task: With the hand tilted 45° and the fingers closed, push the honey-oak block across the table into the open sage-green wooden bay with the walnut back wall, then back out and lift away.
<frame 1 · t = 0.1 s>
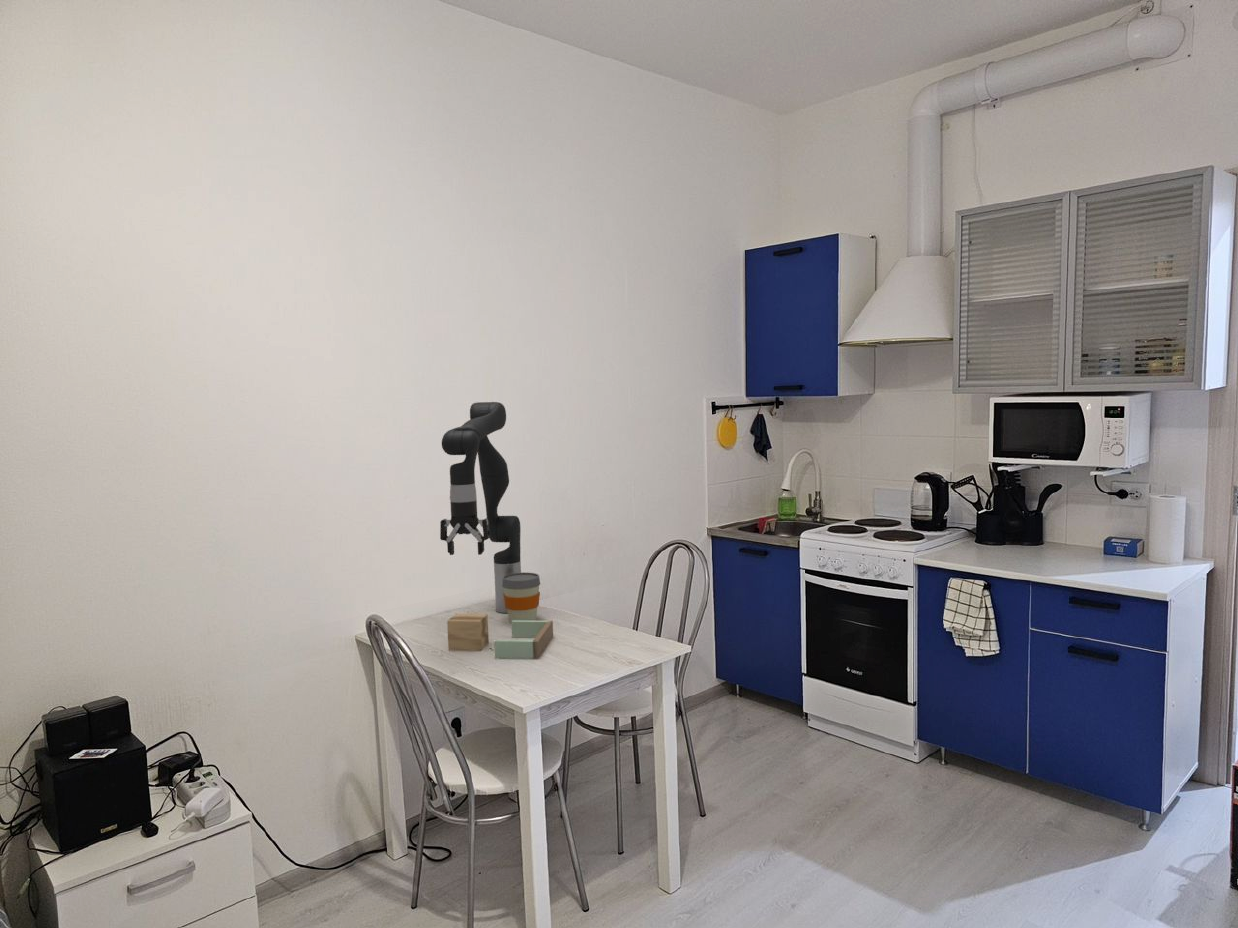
hand: (466, 554, 238), 29 cm above the table, tool pointing down, fingers open, 8 cm apart
reusable coffee cup: (522, 621, 271), on the table
oak block: (469, 646, 246), on the table
bay: (524, 646, 244), on the table
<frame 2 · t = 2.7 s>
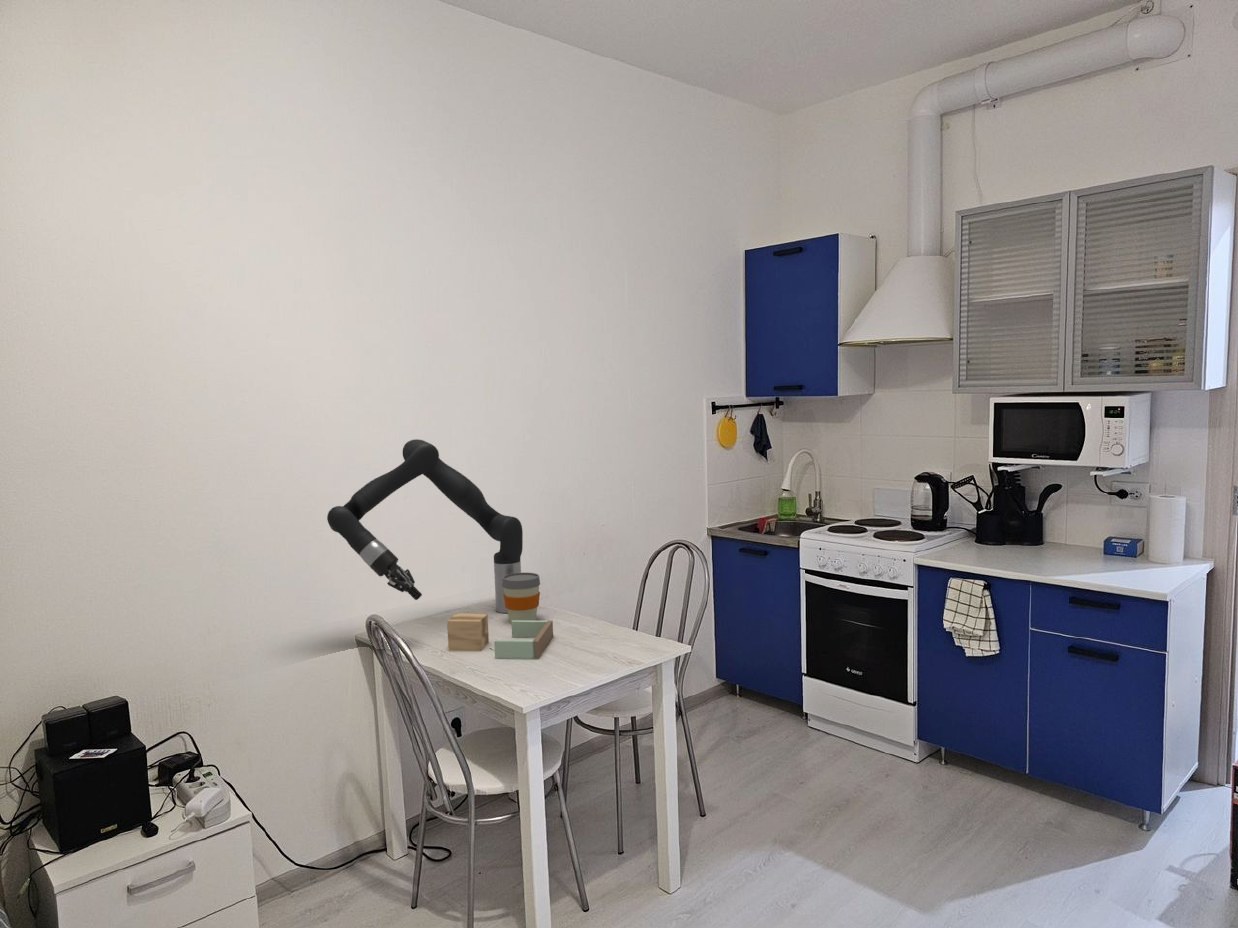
hand: (419, 597, 246), 15 cm above the table, tool tilted 45°, fingers closed
nothing on the table moved.
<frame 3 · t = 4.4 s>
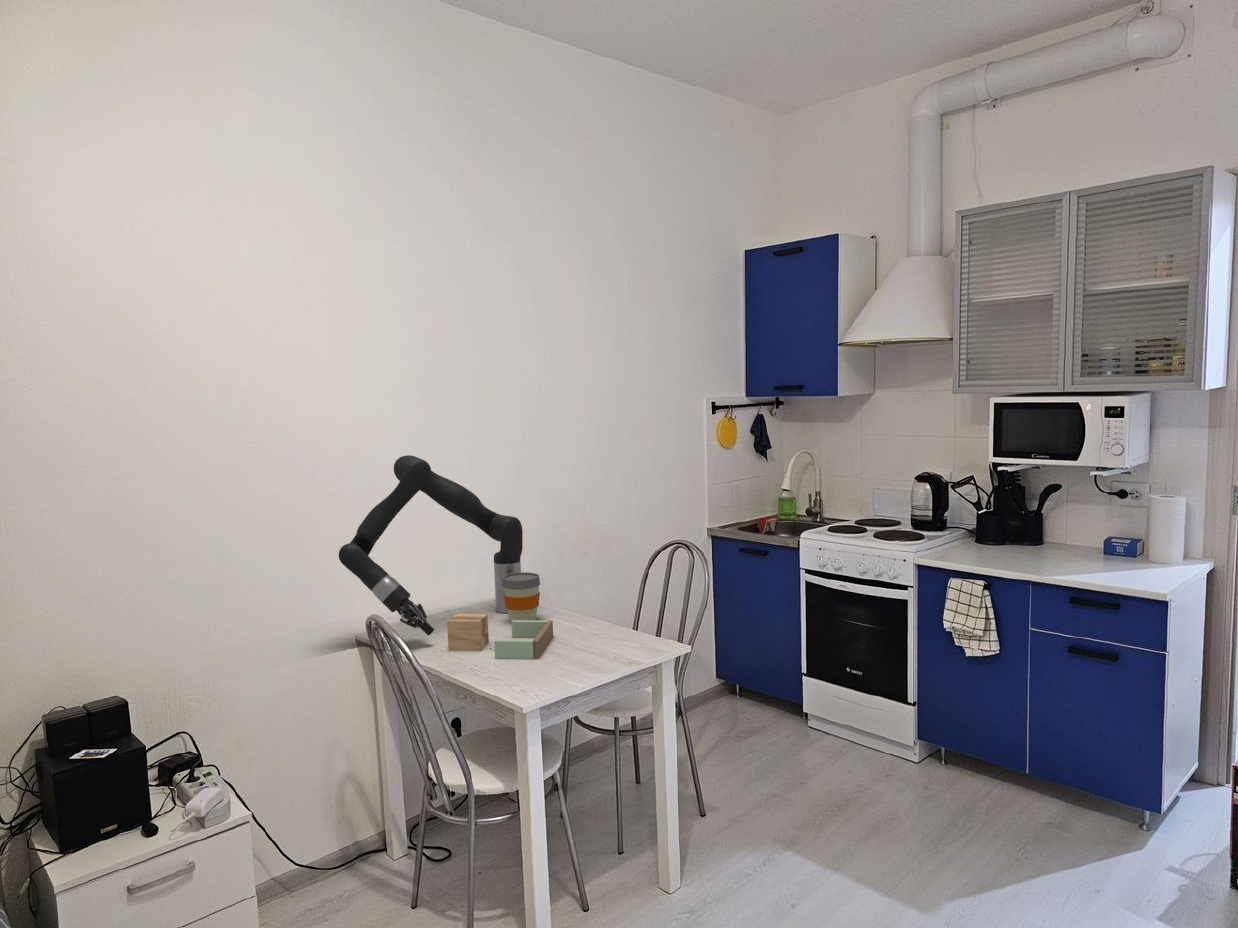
hand: (431, 632, 247), 4 cm above the table, tool tilted 45°, fingers closed
nothing on the table moved.
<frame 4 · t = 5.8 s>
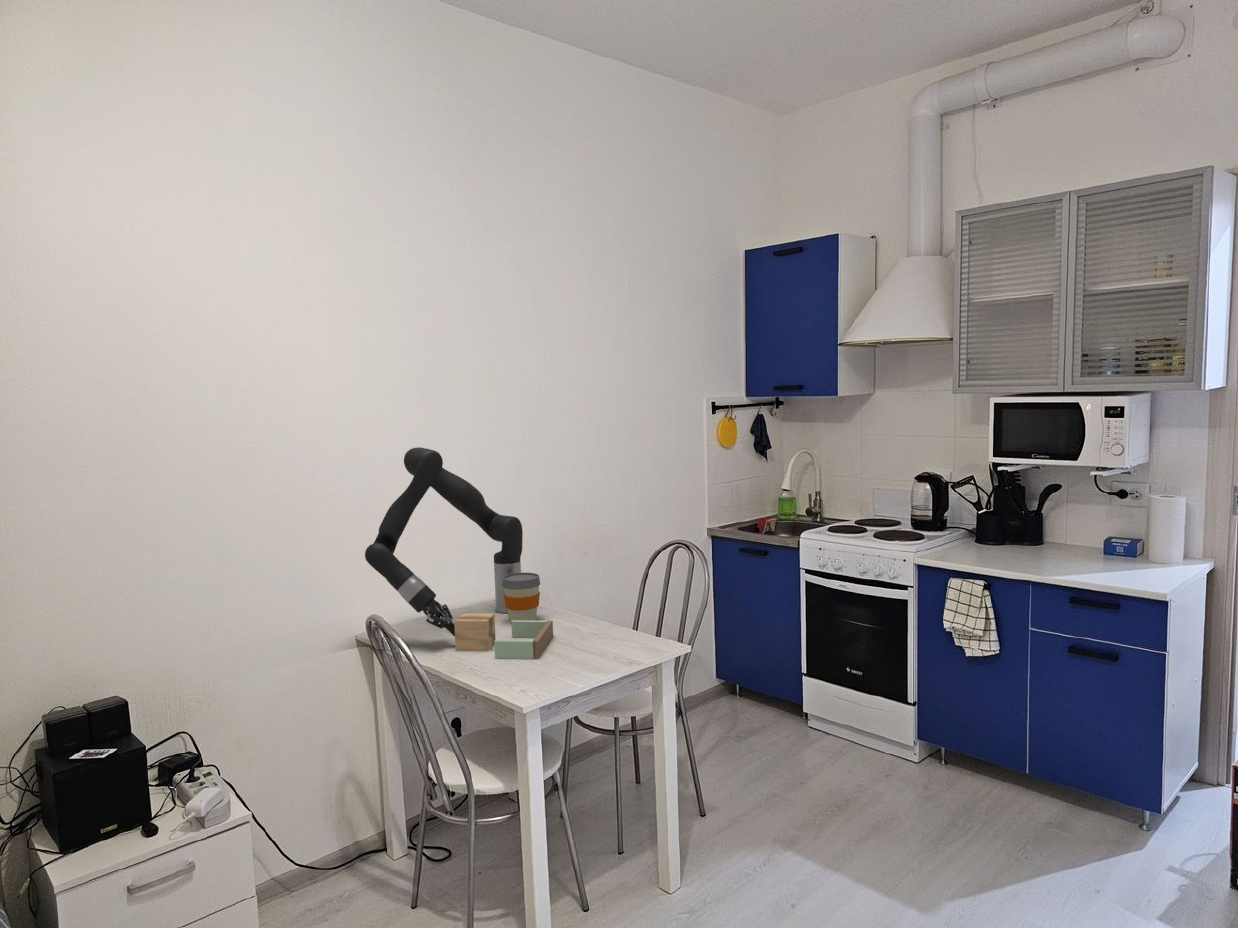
hand: (457, 633, 246), 4 cm above the table, tool tilted 45°, fingers closed
oak block: (475, 646, 246), on the table, touching gripper
everything else where it was.
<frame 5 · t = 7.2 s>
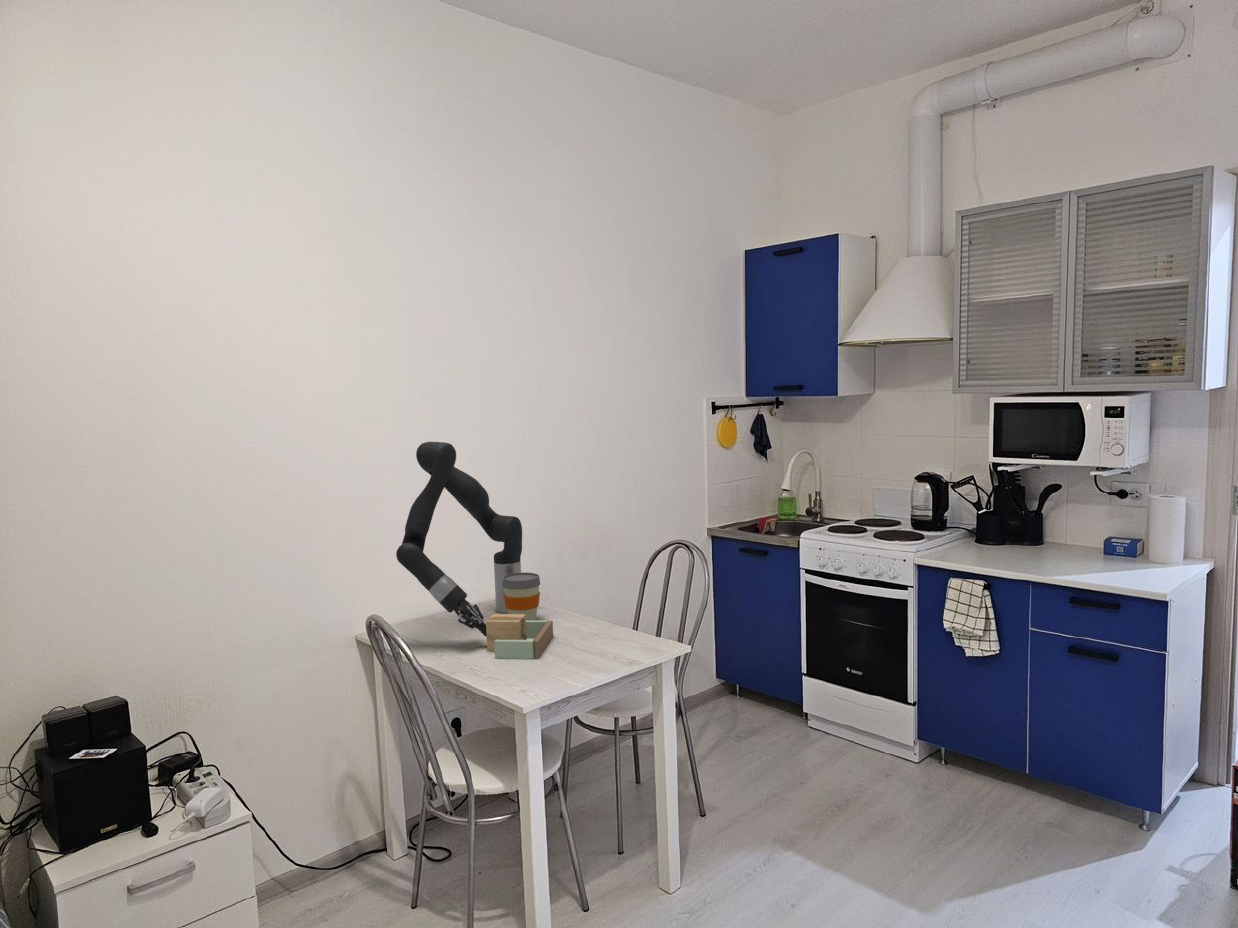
hand: (488, 633, 245), 4 cm above the table, tool tilted 45°, fingers closed
oak block: (507, 647, 244), on the table, touching gripper
everything else where it was.
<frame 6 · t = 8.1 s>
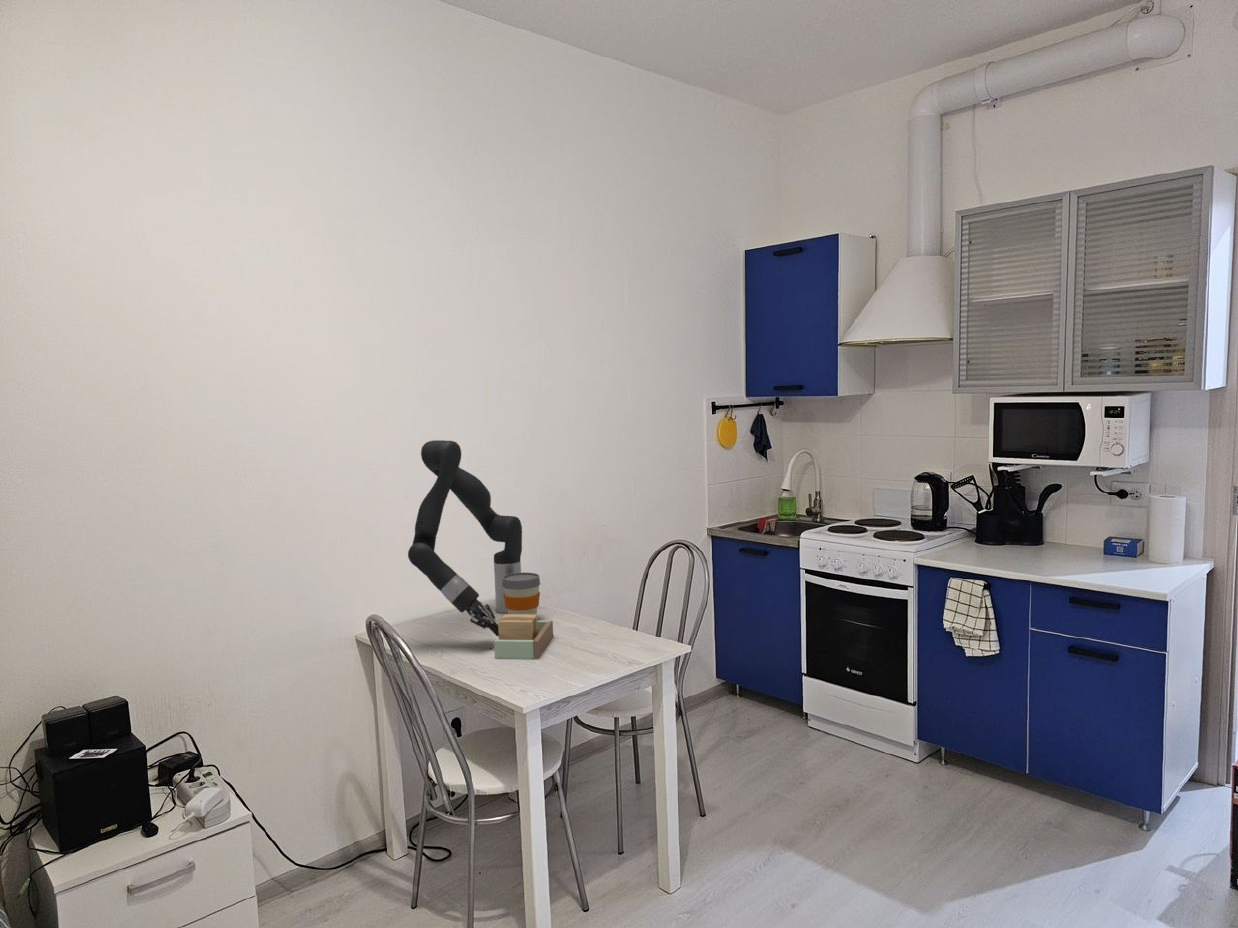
hand: (500, 633, 244), 4 cm above the table, tool tilted 45°, fingers closed
oak block: (519, 647, 244), on the table
everything else where it was.
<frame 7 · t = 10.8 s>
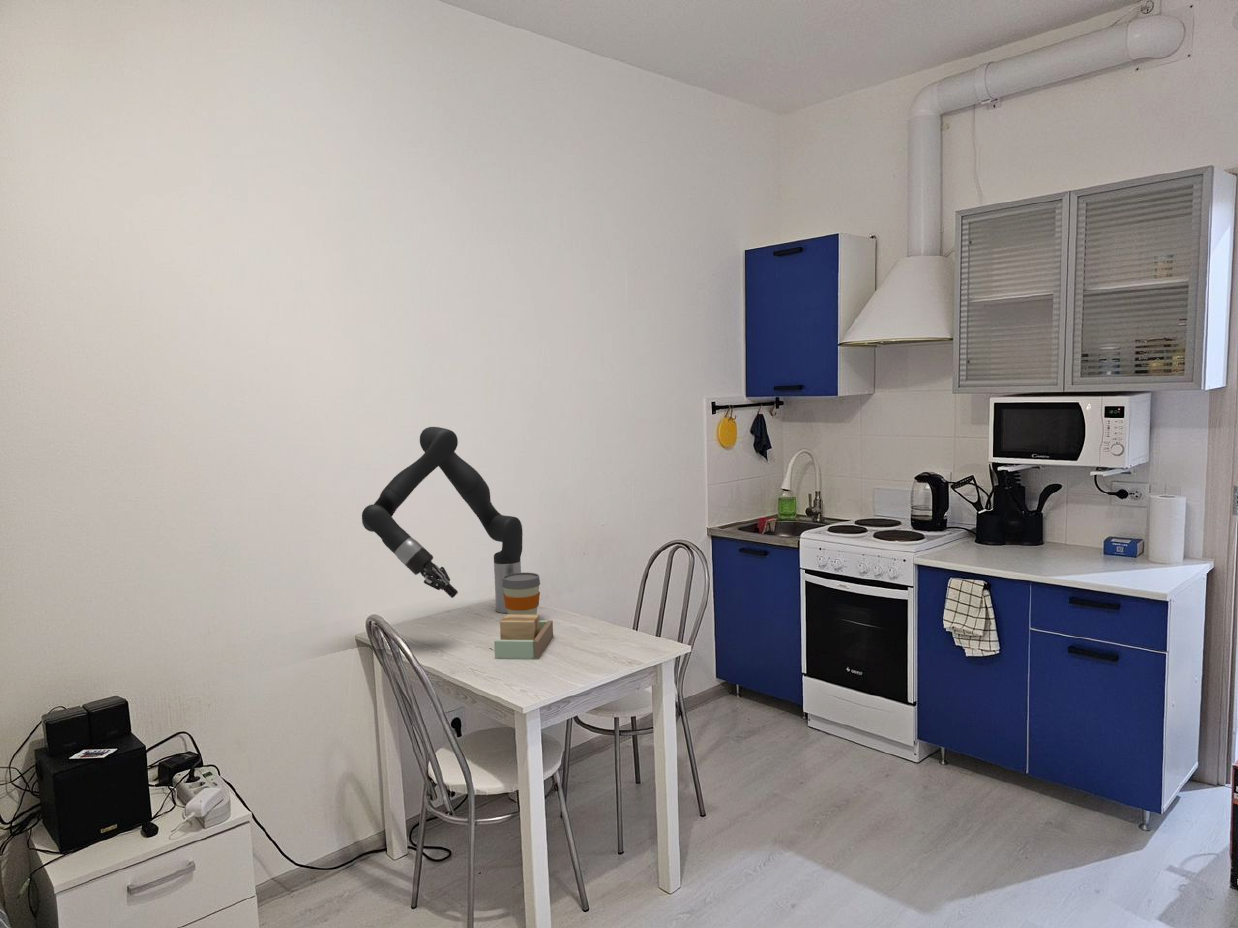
hand: (455, 595, 245), 16 cm above the table, tool tilted 45°, fingers closed
nothing on the table moved.
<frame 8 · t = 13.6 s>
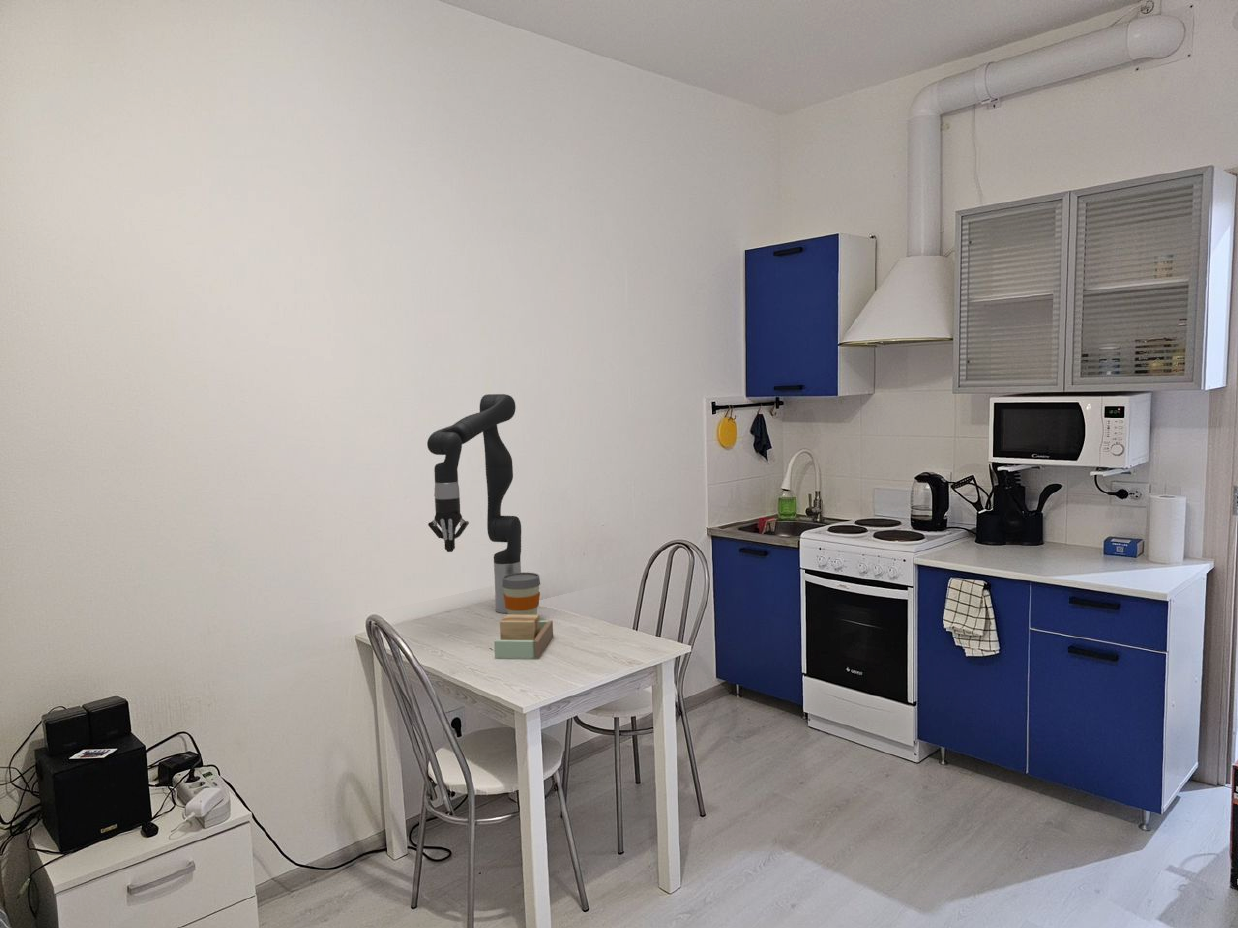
hand: (449, 551, 254), 27 cm above the table, tool pointing down, fingers closed
nothing on the table moved.
at the end: oak block inside the target area (0.5 cm from its centre), on the table; oak block moved 16.2 cm from its start; oak block tilted 0° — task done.
